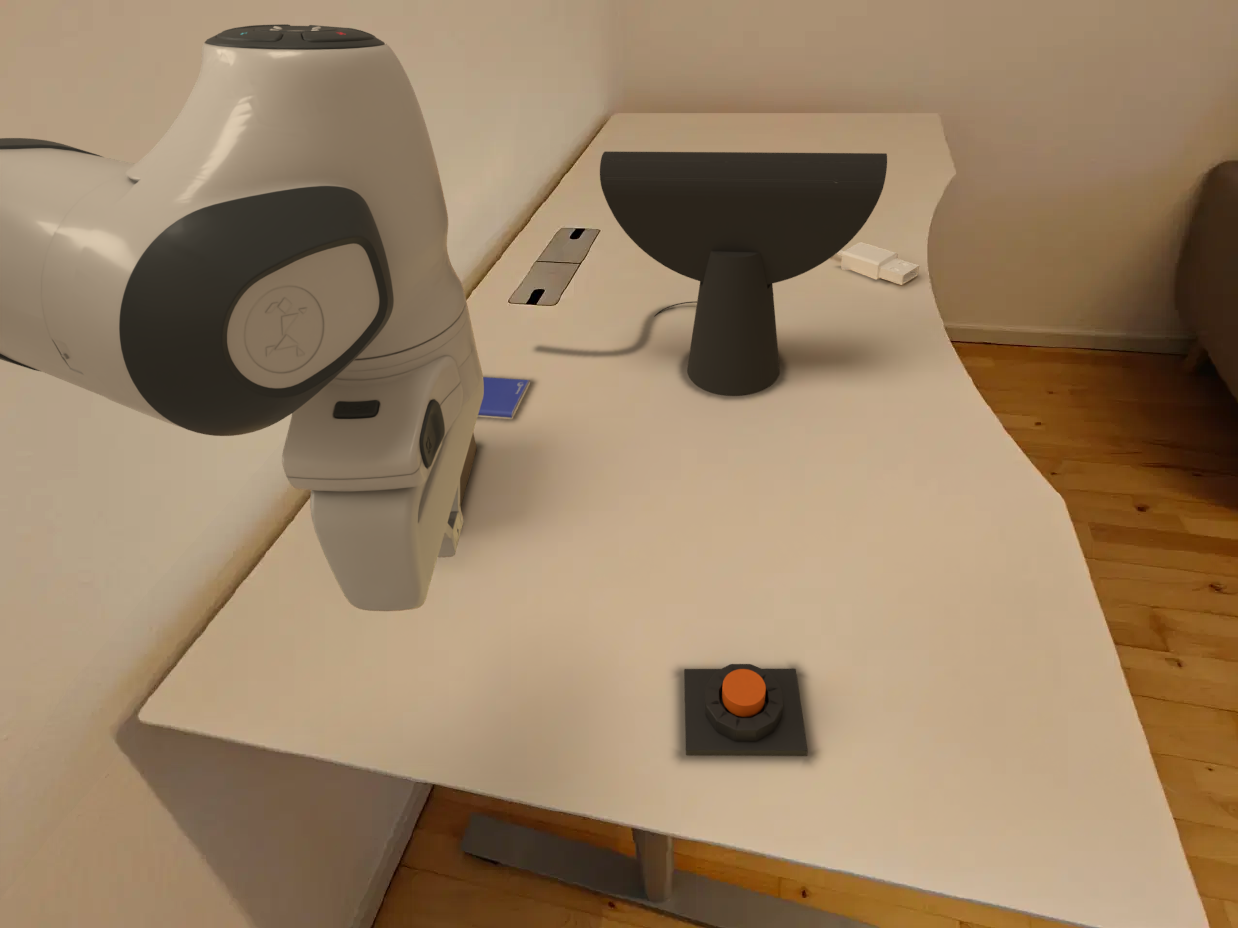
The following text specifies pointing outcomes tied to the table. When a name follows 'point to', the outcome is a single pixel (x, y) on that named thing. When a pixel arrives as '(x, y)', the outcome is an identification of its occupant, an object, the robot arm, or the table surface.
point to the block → (734, 735)
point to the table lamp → (740, 239)
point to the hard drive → (502, 397)
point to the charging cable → (877, 263)
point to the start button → (743, 693)
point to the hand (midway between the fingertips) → (447, 540)
